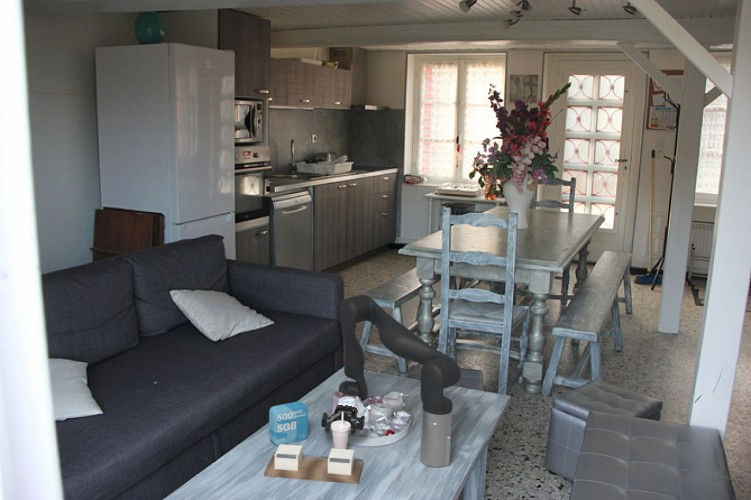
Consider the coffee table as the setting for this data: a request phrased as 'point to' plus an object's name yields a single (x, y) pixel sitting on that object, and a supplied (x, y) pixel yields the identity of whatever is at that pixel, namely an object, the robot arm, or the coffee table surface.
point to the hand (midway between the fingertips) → (339, 431)
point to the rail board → (314, 465)
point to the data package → (288, 423)
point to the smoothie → (340, 433)
